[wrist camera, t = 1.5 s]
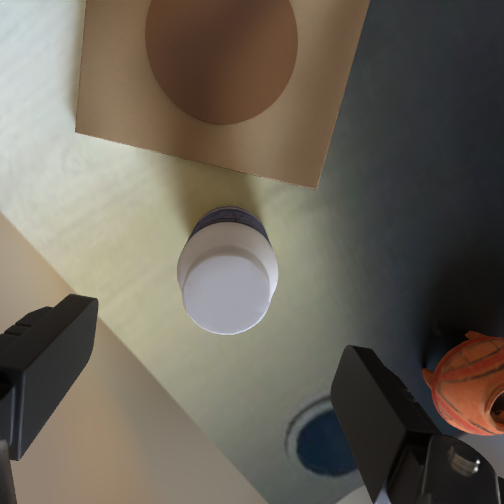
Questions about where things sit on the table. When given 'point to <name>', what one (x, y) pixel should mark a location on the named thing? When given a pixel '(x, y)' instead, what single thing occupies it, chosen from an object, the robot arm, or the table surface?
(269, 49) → the place mat
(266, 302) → the pill bottle
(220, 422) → the table surface
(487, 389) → the pot
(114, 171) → the table surface
